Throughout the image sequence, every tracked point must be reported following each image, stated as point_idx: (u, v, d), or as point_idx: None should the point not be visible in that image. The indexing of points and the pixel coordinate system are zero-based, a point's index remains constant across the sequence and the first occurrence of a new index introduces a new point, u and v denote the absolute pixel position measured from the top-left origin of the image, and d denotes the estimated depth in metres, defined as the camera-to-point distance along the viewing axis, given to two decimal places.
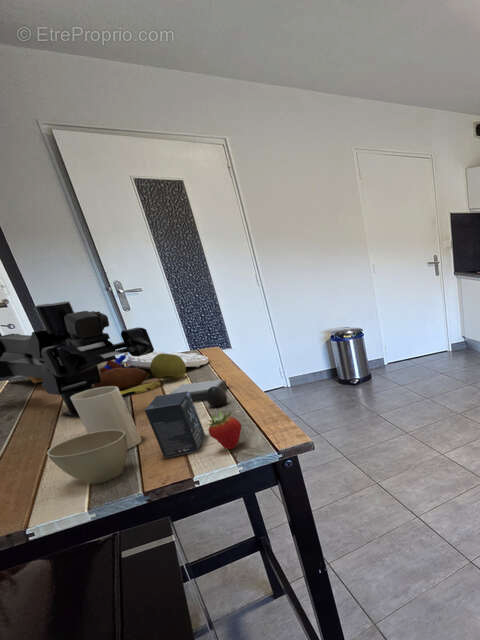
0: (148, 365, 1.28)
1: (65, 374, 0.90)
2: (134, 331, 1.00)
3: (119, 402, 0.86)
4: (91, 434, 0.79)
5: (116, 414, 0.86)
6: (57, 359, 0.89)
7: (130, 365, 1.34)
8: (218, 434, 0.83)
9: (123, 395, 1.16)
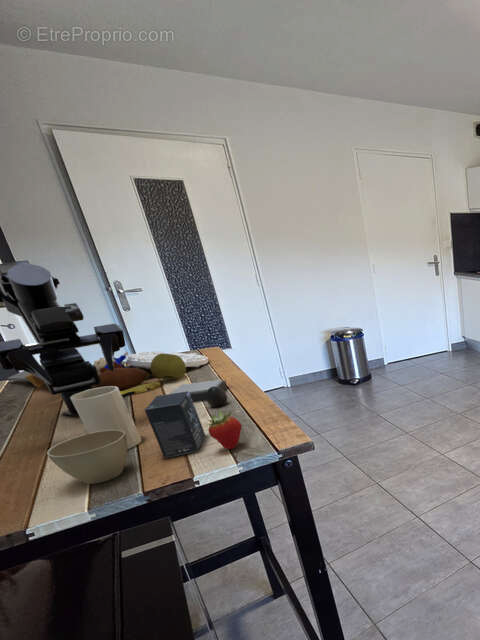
0: (148, 365, 1.28)
1: (12, 367, 0.85)
2: (107, 336, 0.92)
3: (119, 402, 0.86)
4: (91, 434, 0.79)
5: (116, 414, 0.86)
6: (7, 357, 0.83)
7: (130, 365, 1.34)
8: (218, 434, 0.83)
9: (123, 395, 1.16)
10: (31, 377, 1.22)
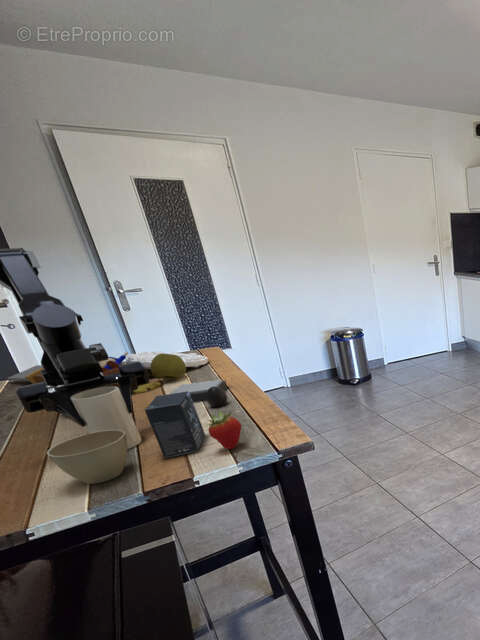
0: (147, 365, 1.28)
1: (36, 410, 0.83)
2: (126, 377, 0.89)
3: (119, 402, 0.86)
4: (91, 434, 0.79)
5: (116, 414, 0.86)
6: (31, 401, 0.81)
7: None
8: (218, 434, 0.83)
9: None
10: (31, 377, 1.22)
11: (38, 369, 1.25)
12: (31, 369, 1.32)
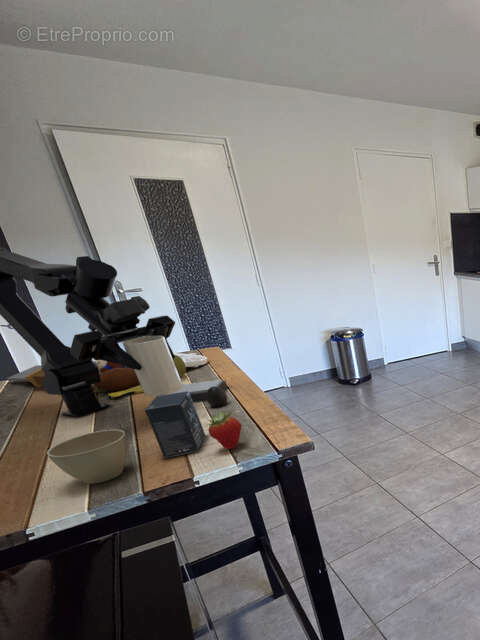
0: None
1: (84, 359, 0.88)
2: (162, 327, 0.98)
3: (167, 347, 0.96)
4: (91, 434, 0.79)
5: (168, 358, 0.96)
6: (87, 348, 0.87)
7: None
8: (218, 434, 0.83)
9: (123, 395, 1.16)
10: (31, 377, 1.22)
11: (38, 369, 1.25)
12: (31, 369, 1.32)
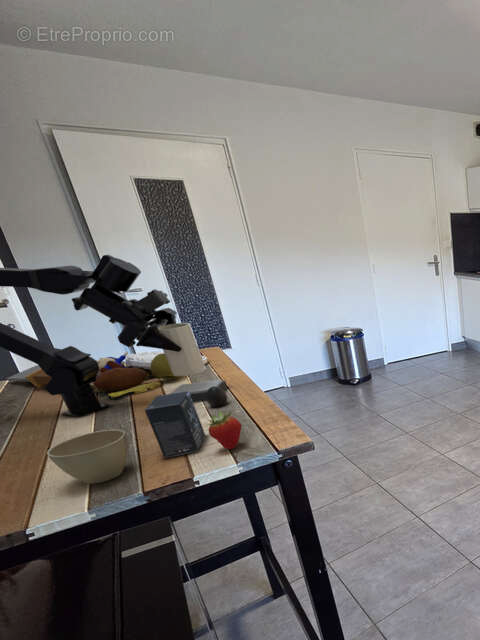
0: (147, 365, 1.28)
1: (131, 345, 0.99)
2: (173, 317, 1.11)
3: None
4: (91, 434, 0.79)
5: (195, 340, 1.11)
6: None
7: (130, 365, 1.34)
8: (218, 434, 0.83)
9: (123, 395, 1.16)
10: (31, 377, 1.22)
11: (38, 369, 1.25)
12: (31, 369, 1.32)
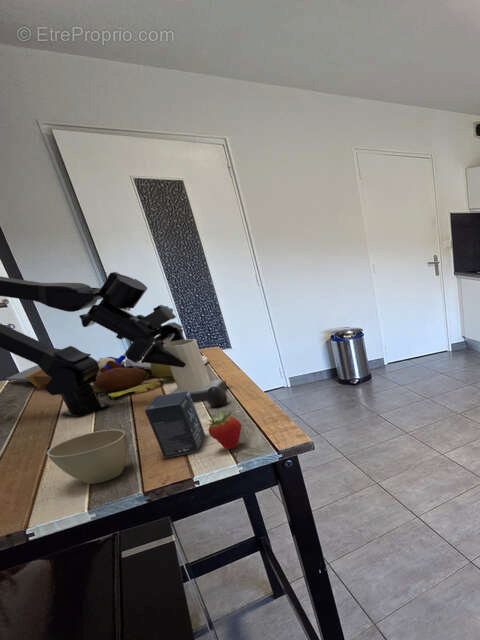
0: (147, 365, 1.28)
1: (138, 361, 1.01)
2: (181, 331, 1.13)
3: None
4: (91, 434, 0.79)
5: (201, 356, 1.12)
6: None
7: (130, 365, 1.34)
8: (218, 434, 0.83)
9: (123, 395, 1.16)
10: (31, 377, 1.22)
11: (38, 369, 1.25)
12: (30, 369, 1.31)
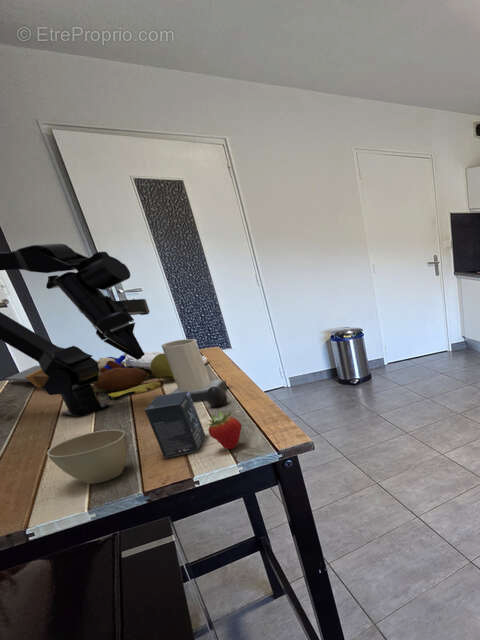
0: (147, 365, 1.28)
1: (104, 332, 0.94)
2: None
3: None
4: (91, 434, 0.79)
5: (201, 356, 1.12)
6: None
7: (130, 365, 1.34)
8: (218, 434, 0.83)
9: (123, 395, 1.16)
10: (31, 377, 1.22)
11: (38, 369, 1.24)
12: (30, 369, 1.31)
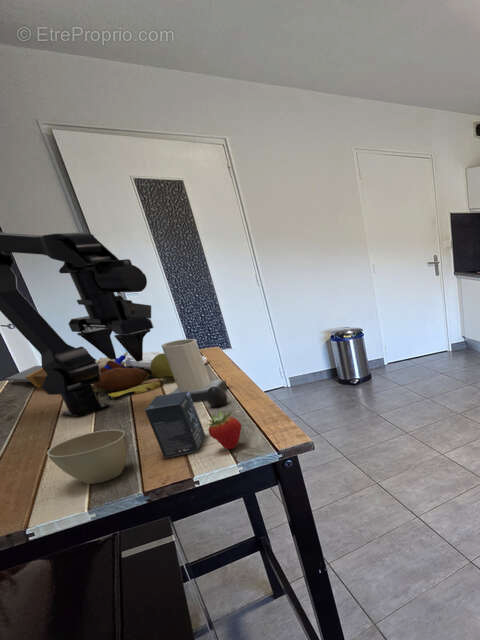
0: (147, 365, 1.28)
1: (123, 333, 0.94)
2: None
3: None
4: (91, 434, 0.79)
5: (201, 356, 1.12)
6: None
7: (130, 365, 1.34)
8: (218, 434, 0.83)
9: (123, 395, 1.16)
10: (31, 377, 1.22)
11: (38, 369, 1.24)
12: (30, 369, 1.31)
